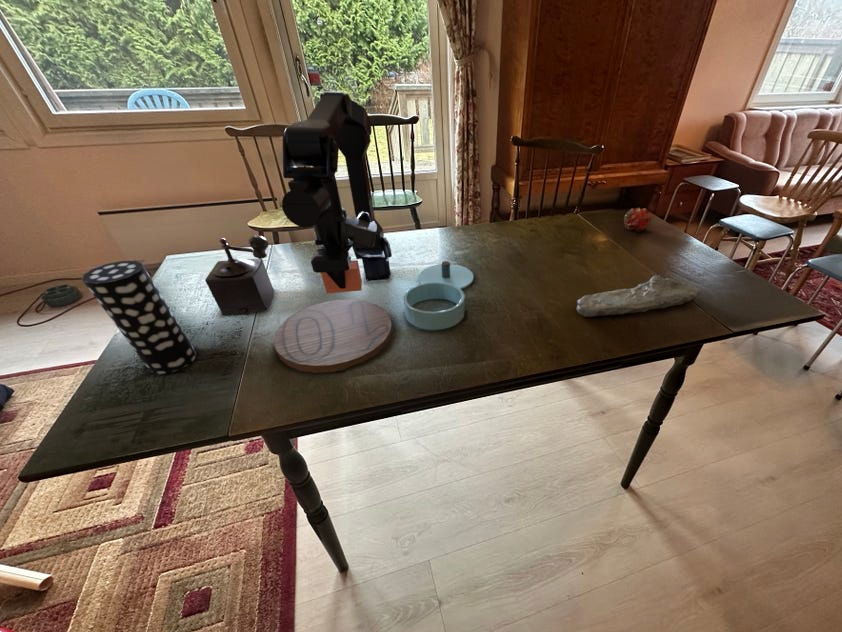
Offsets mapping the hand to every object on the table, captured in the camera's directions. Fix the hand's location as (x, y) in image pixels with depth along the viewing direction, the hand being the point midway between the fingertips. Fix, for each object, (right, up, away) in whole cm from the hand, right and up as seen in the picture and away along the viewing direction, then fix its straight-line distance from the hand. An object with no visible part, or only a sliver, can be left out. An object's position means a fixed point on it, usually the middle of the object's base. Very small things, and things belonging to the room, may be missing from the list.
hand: (343, 283), depth 78 cm
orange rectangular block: (0, -1, +1) cm, 1 cm away
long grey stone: (+70, -2, +20) cm, 72 cm away
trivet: (-4, -11, +6) cm, 13 cm away
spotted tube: (-35, -16, -1) cm, 38 cm away
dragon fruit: (+86, +32, +60) cm, 110 cm away
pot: (+18, -5, +14) cm, 23 cm away
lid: (+19, +7, +27) cm, 34 cm away
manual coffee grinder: (-27, -2, +16) cm, 32 cm away
